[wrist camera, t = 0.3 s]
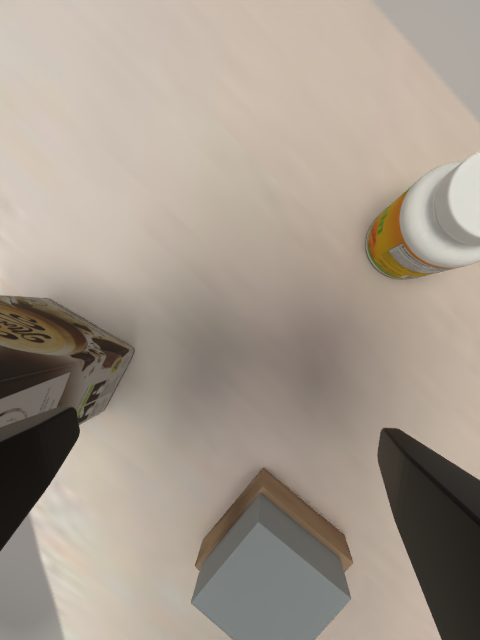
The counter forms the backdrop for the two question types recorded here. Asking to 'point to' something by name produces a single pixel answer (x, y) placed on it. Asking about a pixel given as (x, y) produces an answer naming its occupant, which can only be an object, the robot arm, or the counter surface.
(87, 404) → the coffee box
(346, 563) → the walnut base slab
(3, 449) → the robot arm
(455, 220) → the supplement bottle
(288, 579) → the slate top slab
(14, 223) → the counter surface
